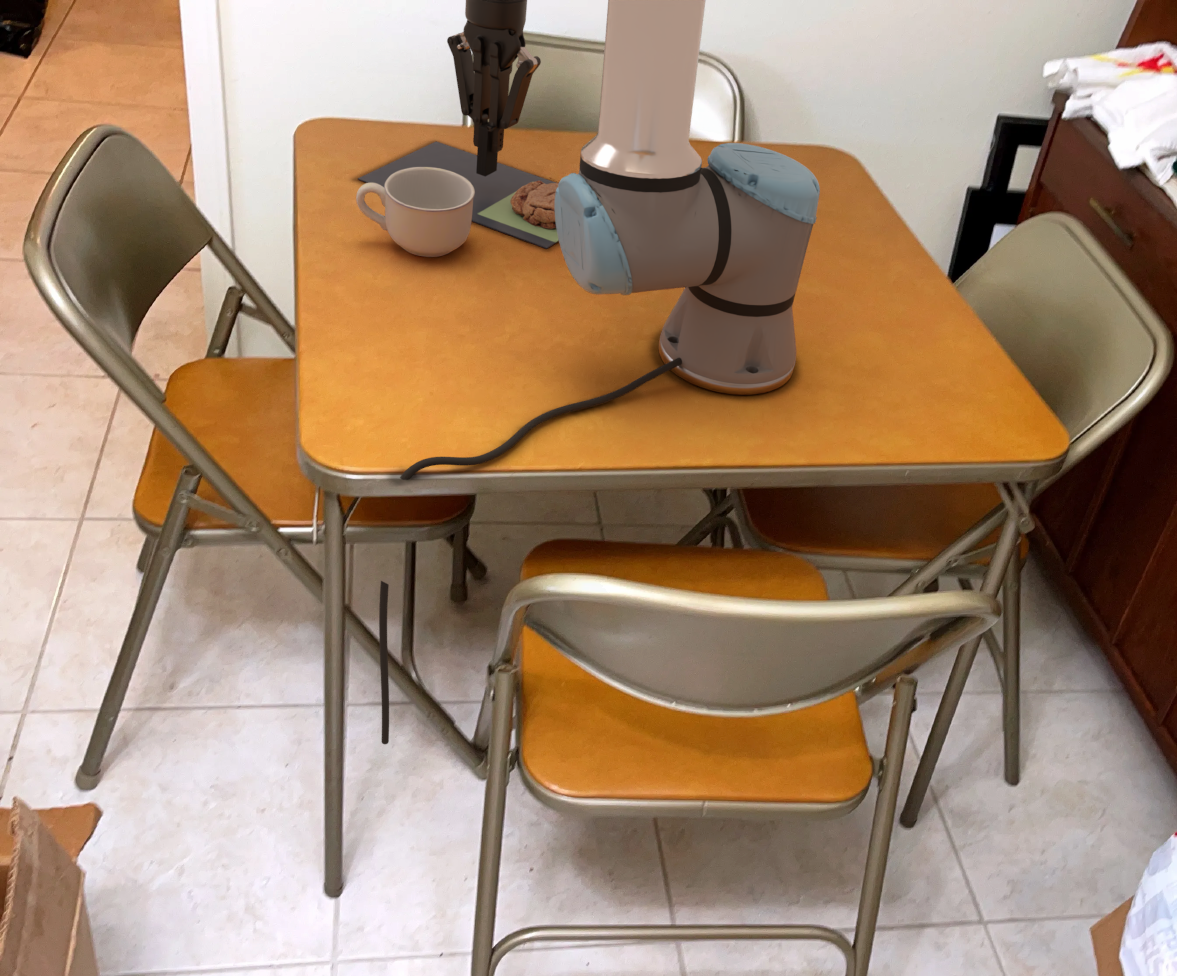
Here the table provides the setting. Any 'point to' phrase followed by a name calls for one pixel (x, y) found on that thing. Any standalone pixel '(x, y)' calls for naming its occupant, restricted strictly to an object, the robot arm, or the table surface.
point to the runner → (478, 189)
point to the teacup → (423, 209)
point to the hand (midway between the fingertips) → (486, 171)
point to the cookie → (536, 203)
